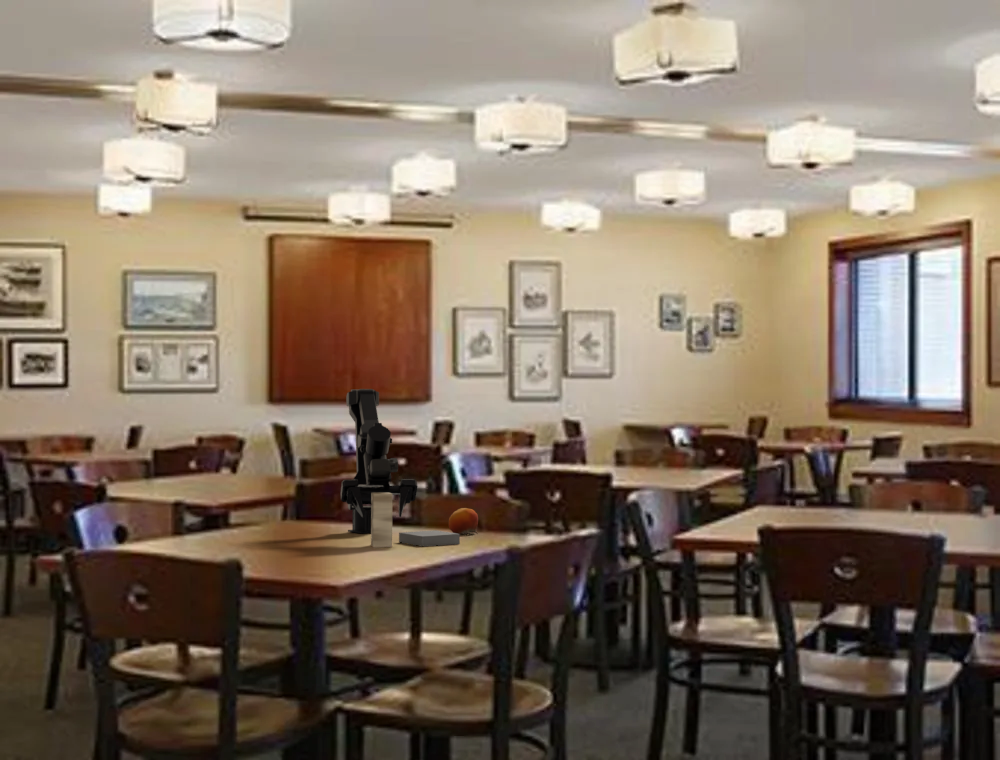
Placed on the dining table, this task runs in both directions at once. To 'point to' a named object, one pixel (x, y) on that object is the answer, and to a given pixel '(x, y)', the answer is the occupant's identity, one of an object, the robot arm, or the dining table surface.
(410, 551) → the dining table surface
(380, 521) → the maple post
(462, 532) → the fruit
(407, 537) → the plinth
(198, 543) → the dining table surface
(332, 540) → the dining table surface
